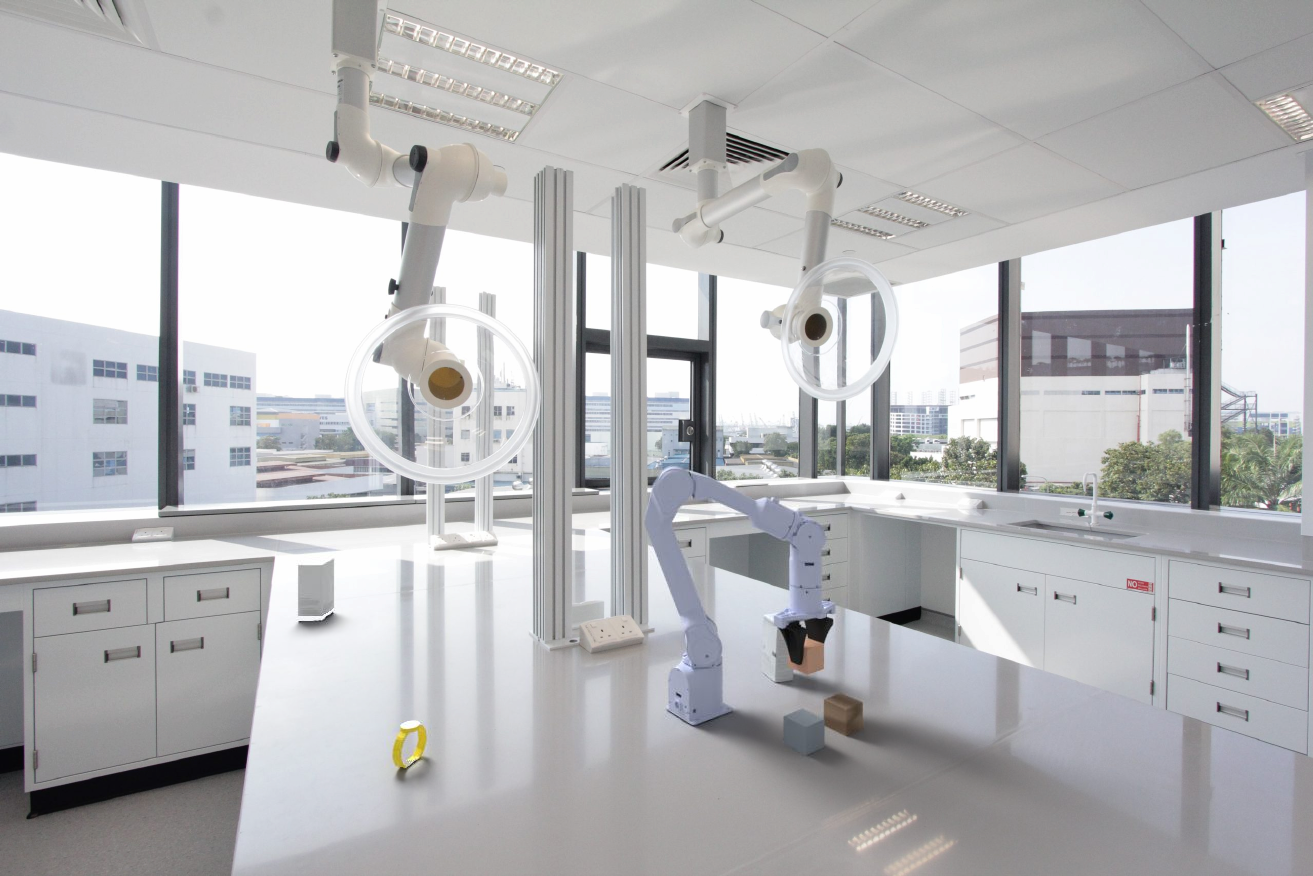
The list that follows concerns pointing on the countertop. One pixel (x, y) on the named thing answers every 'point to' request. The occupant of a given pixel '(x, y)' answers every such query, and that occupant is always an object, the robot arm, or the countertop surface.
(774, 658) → the skincare box
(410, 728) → the watch
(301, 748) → the countertop surface
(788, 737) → the slate block
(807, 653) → the terracotta block
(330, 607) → the skincare box
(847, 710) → the walnut block
